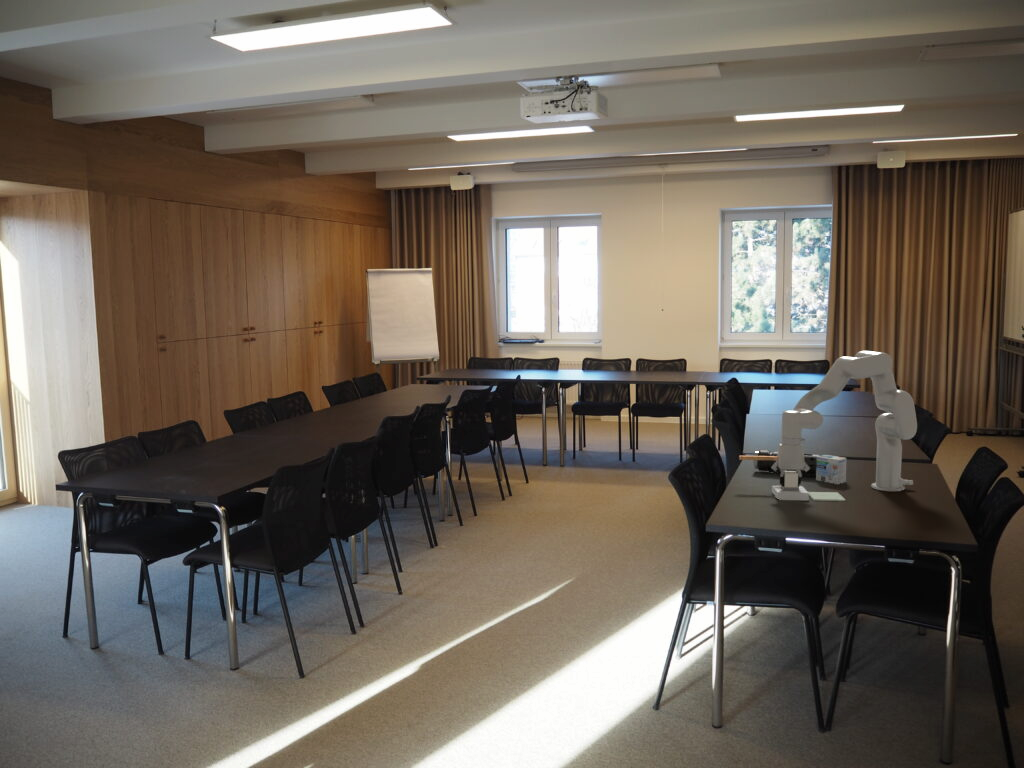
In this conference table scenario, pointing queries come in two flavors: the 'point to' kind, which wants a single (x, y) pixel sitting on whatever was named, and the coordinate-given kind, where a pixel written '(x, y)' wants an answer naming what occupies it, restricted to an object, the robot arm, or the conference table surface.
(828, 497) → the mat
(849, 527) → the conference table surface
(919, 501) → the conference table surface
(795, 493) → the socket block
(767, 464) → the muzzle brake
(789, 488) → the plug
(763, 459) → the wooden bar
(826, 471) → the light bulb box
